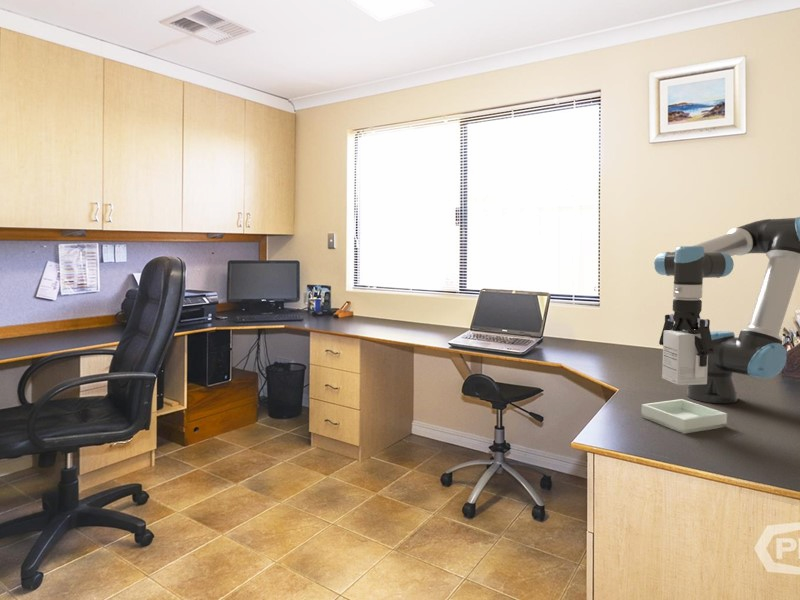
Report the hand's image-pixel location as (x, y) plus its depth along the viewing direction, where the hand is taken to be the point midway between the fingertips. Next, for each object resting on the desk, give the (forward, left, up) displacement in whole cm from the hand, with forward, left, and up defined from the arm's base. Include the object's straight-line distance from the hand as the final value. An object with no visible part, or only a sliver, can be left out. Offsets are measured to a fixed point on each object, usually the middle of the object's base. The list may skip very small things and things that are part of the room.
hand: (684, 373), depth 158 cm
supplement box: (0, 0, -3) cm, 3 cm away
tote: (0, 0, -15) cm, 15 cm away
